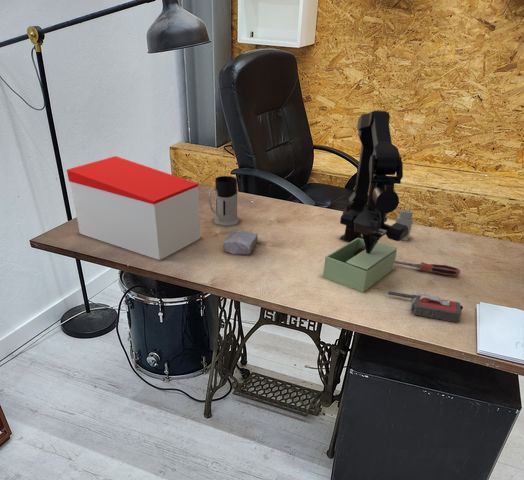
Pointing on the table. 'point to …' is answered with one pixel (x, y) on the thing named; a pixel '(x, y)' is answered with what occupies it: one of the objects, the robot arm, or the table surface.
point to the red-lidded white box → (135, 206)
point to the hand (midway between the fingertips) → (368, 252)
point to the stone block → (240, 242)
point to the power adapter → (405, 220)
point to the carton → (353, 275)
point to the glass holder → (225, 200)
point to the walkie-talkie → (432, 306)
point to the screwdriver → (434, 268)
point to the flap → (371, 256)
